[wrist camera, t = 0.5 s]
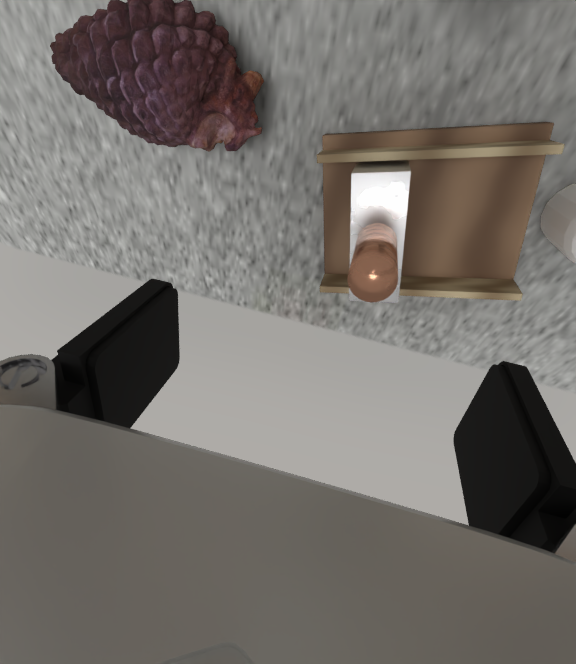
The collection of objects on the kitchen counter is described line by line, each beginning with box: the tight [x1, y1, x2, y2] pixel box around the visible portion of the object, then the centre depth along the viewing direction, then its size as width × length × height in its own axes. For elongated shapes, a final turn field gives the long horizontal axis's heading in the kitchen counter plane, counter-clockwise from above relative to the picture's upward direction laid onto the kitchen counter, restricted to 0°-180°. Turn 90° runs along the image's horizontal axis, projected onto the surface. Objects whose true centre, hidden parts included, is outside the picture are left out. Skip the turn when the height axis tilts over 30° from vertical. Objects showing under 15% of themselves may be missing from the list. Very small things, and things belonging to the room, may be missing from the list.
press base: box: [317, 122, 565, 300], centre depth 33 cm, size 17×14×4 cm
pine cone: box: [50, 0, 264, 151], centre depth 29 cm, size 18×10×10 cm, turn 76°
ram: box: [347, 160, 411, 303], centre depth 28 cm, size 4×10×13 cm, turn 4°
